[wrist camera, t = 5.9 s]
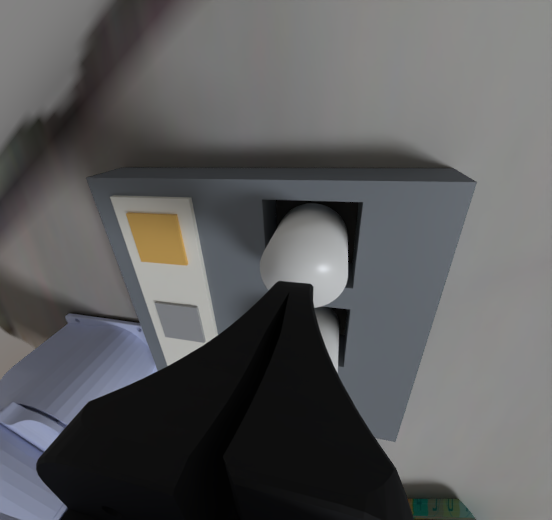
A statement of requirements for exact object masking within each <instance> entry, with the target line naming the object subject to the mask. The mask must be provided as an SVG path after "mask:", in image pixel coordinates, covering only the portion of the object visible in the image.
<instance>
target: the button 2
mask: <svg viewBox="0 0 552 520" xmlns="http://www.w3.org/2000/svg"><path fill="white" fill-rule="evenodd" d="M260 274H261V277H262V280H263V282H264V284H265V286H266V288H267V289H268V290H269V289H270V288H271V287H272V286H273V285H274V284H275V283H276V282H278V281H287V282H297V283H308V284H311V285H312V286H313V287H314V288H313V303H314V308H317V307H321V306H324V305H327V304H329V303H331V302H332V301H334V300H335V299H336V298H337V297H338V296H339V295H340V294H341V293H342V292H343V290H344V288H345V286H346V283H347V279H348V232H347V228H346V225H345V222H344V221H343V219H342V218H341V216H340V215H339V214H338V213H337V212H336V211H334V210H333V209H331V208H329V207H327V206H325V205H322V204H316V203H307V204H302V205H299V206H297V207H294V208H293V209H291V210H290V211H289V212H288V213H287V214H286V215H285V216H284V217H283V219H282V220H281V222H280V224H279V226H278V227H277V229H276V231H275V233H274V235H273V236H272V238H271V240H270V242H269V243H268V245H267V247H266V249H265V250H264V252H263V254H262V257H261V260H260Z"/></svg>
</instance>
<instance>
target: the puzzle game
mask: <svg viewBox="0 0 552 520" xmlns="http://www.w3.org/2000/svg"><path fill="white" fill-rule="evenodd" d="M408 502H409V505H410V508H411V511H412V514H413V518H414V520H476V519H475V517H474V516H473V515H472V513H471V512H470V511H469V510H468V508H467V507H466V506H465V505H464V504H463V503H462V502H461V501H460V500H459V499H408Z"/></svg>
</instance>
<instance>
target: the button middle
mask: <svg viewBox="0 0 552 520" xmlns="http://www.w3.org/2000/svg"><path fill="white" fill-rule="evenodd" d="M314 309H315V314H316V318H317V322H318V325H319V329H320V332H321V335H322V338H323V341H324V343H325V346H326V349H327V351H328V354H329V356H330V358H331V360H332V363H333V365H334V367H335V369H336V371H337V373H338V350H339V319H338V317H337V315H336V313H335V312H334V311H333V310H332V309H331V308H330V307H323V306H321V307H317V308H314Z"/></svg>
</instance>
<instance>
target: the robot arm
mask: <svg viewBox="0 0 552 520" xmlns="http://www.w3.org/2000/svg"><path fill="white" fill-rule="evenodd" d="M313 288H314V287H313V286H312V285H311V284H308V283H297V282H287V281H278V282H276V283H275V284H274V285H273V286H272V287H271V288H270V289H269V290H268V292H267V293H266V294H265V295H264V296H263V297H262V298H261V299H260V300H259V301H258V302H256V303H255V304H254V305H253V306H252V307H251V308H250V309H249V310H248V311H247V312H246V313H245V314H243V315H242V316H241V317H240V318H239V319H238V320H236V321H235V322H234V323H233V324H232V325H230V326H229V327H228V328H227V329H225V330H224V331H223V332H221V333H220V334H219V335H217V336H216V337H215V338H213V339H212V340H210V341H209V342H207V343H206V344H204V345H203V346H201V347H200V348H198V349H196V350H195V351H193V352H191V353H190V354H188V355H186V356H185V357H183V358H181V359H180V360H178V361H176V362H174V363H173V364H171V365H169V366H167V367H165V368H163V369H161V370H159V371H158V370H157V368H156V365H155V362H154V360H153V357H152V354H151V352H150V349H149V346H148V343H147V341H146V338H145V335H144V333H143V330H142V327H141V325H140V323H135V322H128V321H121V320H114V319H107V318H100V317H93V316H86V315H79V314H72V313H69V314H67V315H66V316H65V318H66V320H67V322H68V324H67V325H65V326H64V327H63V328H62V329H60V330H59V331H58V332H56V333H55V334H54V335H53V336H51V337H50V338H49V339H47V340H46V341H45V342H44V343H42V344H41V345H40V346H39V347H37V348H36V349H35V350H33V351H32V352H31V353H30V354H28V355H27V356H26V357H24V358H23V359H22V360H21V361H19V362H18V363H17V364H16V365H14V366H13V367H12V368H11V369H10V370H9V371H8V372H7V373H6V374H5V375H4V376H3V378H2V379H1V380H0V520H414V518H413V514H412V511H411V508H410V505H409V502H408V499H407V496H406V493H405V491H404V488H403V485H402V483H401V480H400V477H399V475H398V472H397V470H396V468H395V466H394V465H393V463H392V462H391V461H390V459H389V458H388V456H387V455H386V453H385V452H384V451H383V449H382V448H381V446H380V445H379V443H378V442H377V440H376V439H375V437H374V436H373V434H372V433H371V431H370V430H369V428H368V426H367V425H366V423H365V422H364V420H363V418H362V417H361V415H360V413H359V412H358V410H357V409H356V407H355V405H354V403H353V401H352V400H351V398H350V396H349V394H348V392H347V391H346V389H345V387H344V385H343V383H342V382H341V380H340V378H339V375H338V373H337V371H336V369H335V367H334V365H333V363H332V360H331V358H330V356H329V354H328V351H327V349H326V346H325V343H324V341H323V338H322V335H321V332H320V329H319V325H318V322H317V318H316V314H315V309H314V303H313Z"/></svg>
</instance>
